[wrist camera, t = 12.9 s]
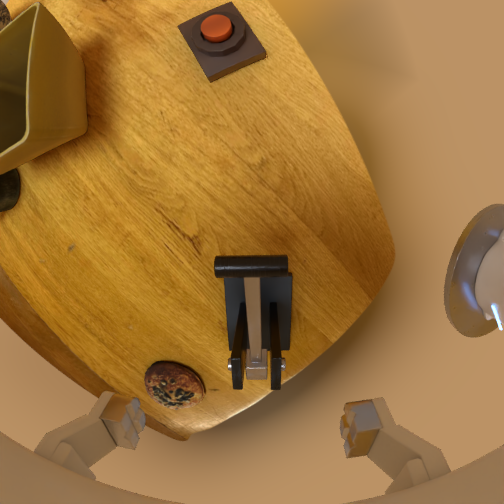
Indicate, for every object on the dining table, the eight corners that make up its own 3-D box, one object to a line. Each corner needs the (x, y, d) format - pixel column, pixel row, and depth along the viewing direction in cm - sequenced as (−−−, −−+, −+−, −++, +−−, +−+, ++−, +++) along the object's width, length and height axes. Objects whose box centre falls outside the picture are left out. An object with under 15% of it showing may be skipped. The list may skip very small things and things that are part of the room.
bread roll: (161, 348, 42) (154, 370, 38) (217, 378, 45) (216, 400, 41) (136, 380, 46) (129, 400, 41) (186, 405, 49) (183, 425, 44)
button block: (265, 57, 30) (266, 45, 26) (210, 82, 32) (204, 73, 28) (232, 8, 28) (229, -6, 24) (181, 32, 29) (173, 20, 25)
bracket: (224, 273, 39) (206, 325, 25) (291, 272, 38) (304, 324, 25) (230, 346, 42) (218, 411, 29) (288, 345, 42) (296, 411, 28)
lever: (216, 247, 20) (212, 270, 19) (286, 246, 20) (289, 269, 18) (235, 361, 30) (233, 379, 29) (279, 360, 30) (280, 379, 28)
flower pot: (102, 37, 29) (39, -3, 13) (110, 144, 34) (28, 138, 18) (22, 86, 31) (-42, 75, 15) (27, 181, 36) (-46, 194, 20)
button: (237, 35, 26) (236, 29, 25) (210, 47, 27) (208, 41, 25) (225, 16, 26) (223, 10, 24) (198, 28, 26) (195, 22, 24)
